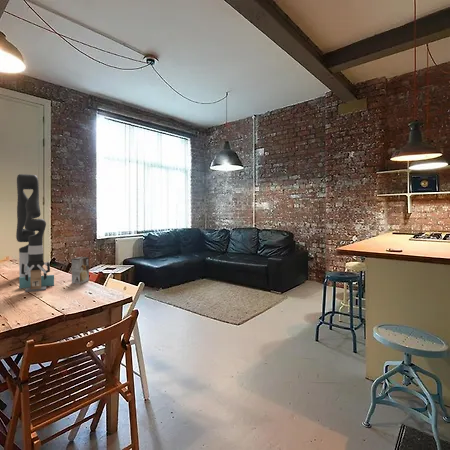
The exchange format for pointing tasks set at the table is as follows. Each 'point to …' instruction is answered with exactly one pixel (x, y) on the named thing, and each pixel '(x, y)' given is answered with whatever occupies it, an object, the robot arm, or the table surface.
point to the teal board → (47, 282)
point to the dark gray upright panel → (35, 289)
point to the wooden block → (35, 279)
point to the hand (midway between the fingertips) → (36, 280)
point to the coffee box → (80, 270)
